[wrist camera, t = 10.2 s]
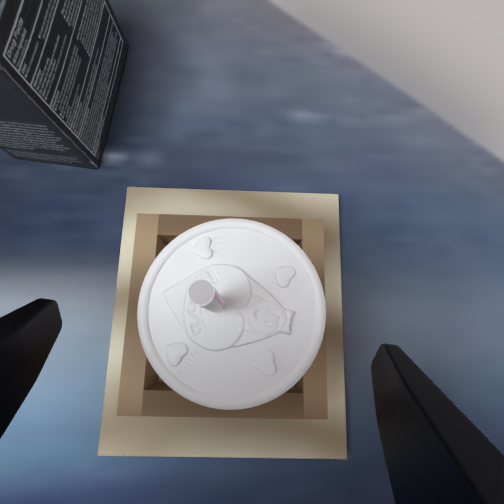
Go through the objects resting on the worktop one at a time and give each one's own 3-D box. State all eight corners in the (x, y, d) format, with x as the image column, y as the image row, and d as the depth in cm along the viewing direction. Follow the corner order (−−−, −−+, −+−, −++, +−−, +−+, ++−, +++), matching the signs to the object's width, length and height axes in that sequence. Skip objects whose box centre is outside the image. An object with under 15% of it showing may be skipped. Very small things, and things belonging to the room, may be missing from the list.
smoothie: (198, 254, 21) (123, 127, 8) (297, 276, 21) (401, 188, 7) (171, 357, 20) (18, 430, 6) (276, 381, 20) (359, 510, 6)
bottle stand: (342, 453, 20) (366, 483, 16) (103, 450, 19) (70, 480, 16) (334, 198, 23) (352, 174, 20) (131, 191, 23) (110, 165, 19)
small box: (46, 33, 25) (-86, -164, 15) (131, 44, 25) (57, -145, 15) (7, 159, 23) (-179, 27, 13) (100, 171, 23) (-11, 49, 13)
